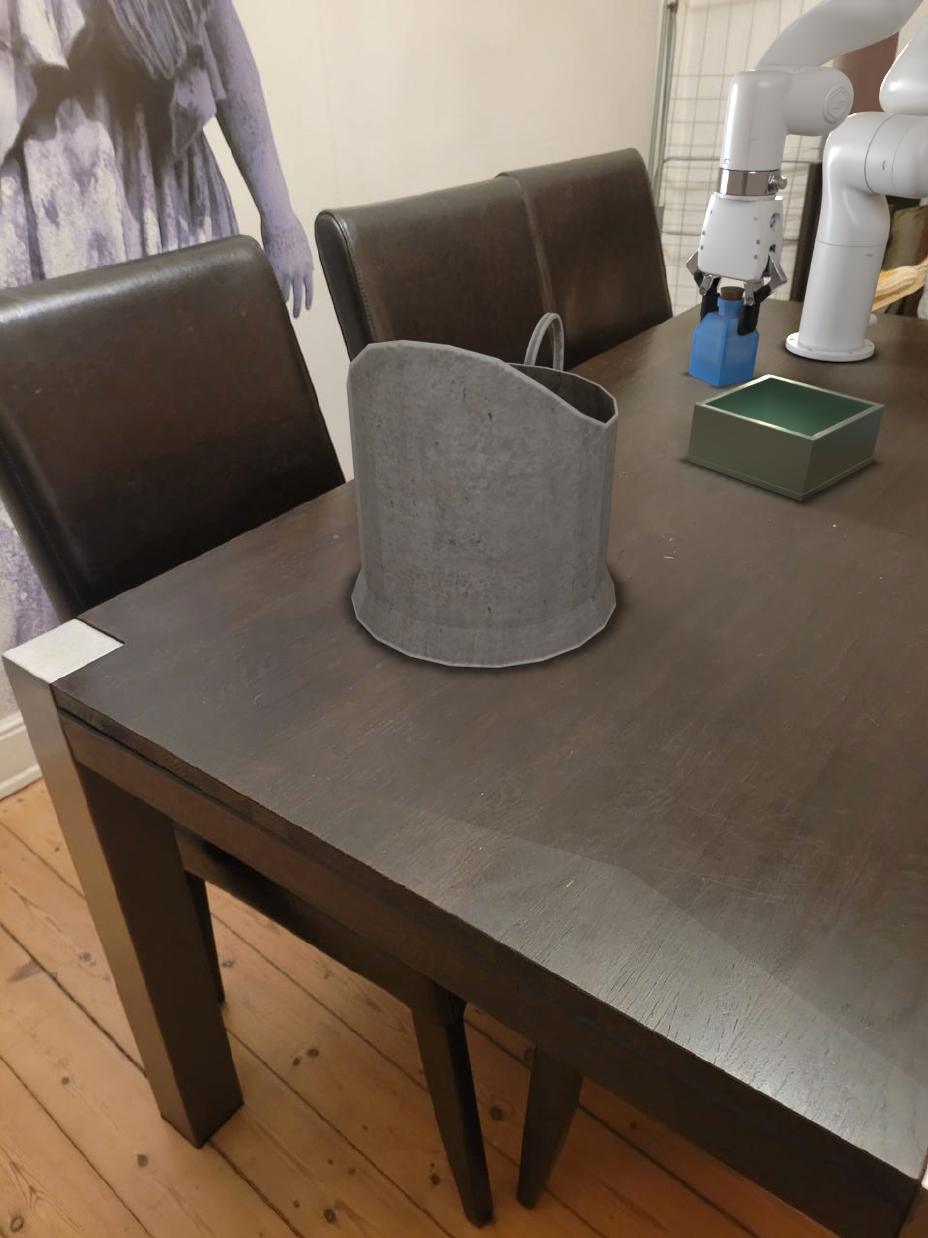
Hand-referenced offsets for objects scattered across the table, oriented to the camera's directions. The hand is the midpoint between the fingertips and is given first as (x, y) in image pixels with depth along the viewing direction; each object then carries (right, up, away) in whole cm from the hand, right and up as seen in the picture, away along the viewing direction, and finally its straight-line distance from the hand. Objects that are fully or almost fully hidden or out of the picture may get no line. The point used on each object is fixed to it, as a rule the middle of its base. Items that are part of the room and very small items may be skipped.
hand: (727, 327), depth 126 cm
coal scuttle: (-33, -35, -41) cm, 63 cm away
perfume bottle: (0, -6, +4) cm, 7 cm away
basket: (0, -22, -21) cm, 30 cm away
